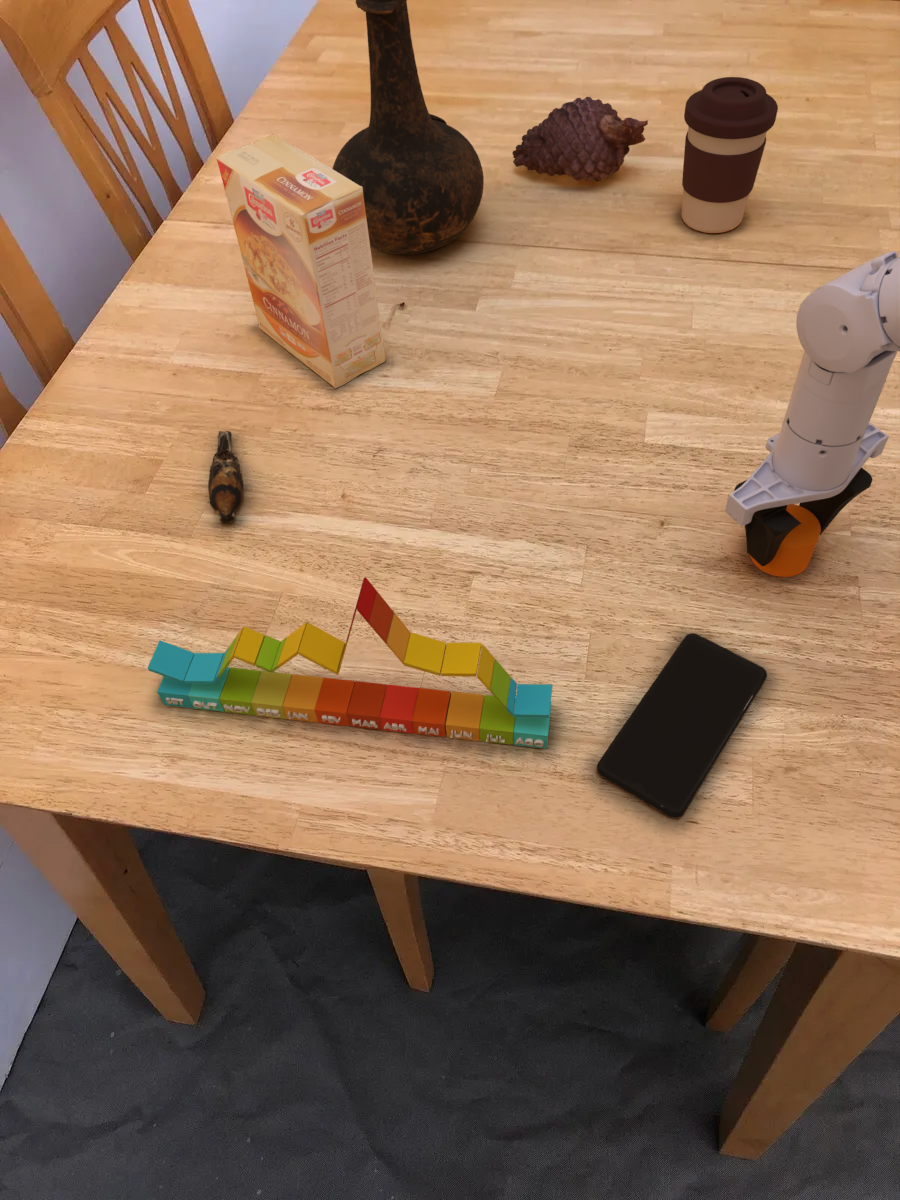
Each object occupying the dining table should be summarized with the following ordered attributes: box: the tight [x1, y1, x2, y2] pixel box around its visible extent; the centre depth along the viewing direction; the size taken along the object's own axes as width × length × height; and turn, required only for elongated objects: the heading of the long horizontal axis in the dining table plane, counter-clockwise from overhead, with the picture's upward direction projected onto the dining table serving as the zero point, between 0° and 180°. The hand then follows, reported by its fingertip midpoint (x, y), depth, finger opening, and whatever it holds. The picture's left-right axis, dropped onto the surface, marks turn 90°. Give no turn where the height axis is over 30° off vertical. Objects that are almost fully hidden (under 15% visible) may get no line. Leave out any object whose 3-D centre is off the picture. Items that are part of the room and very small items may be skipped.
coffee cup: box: [681, 76, 779, 234], centre depth 107 cm, size 10×10×15 cm
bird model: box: [207, 430, 244, 524], centre depth 87 cm, size 3×13×3 cm, turn 6°
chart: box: [147, 576, 554, 749], centre depth 66 cm, size 30×3×15 cm, turn 81°
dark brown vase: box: [332, 0, 485, 256], centre depth 103 cm, size 18×18×28 cm
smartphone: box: [596, 632, 768, 819], centre depth 69 cm, size 7×1×15 cm
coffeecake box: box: [215, 133, 386, 389], centre depth 93 cm, size 15×7×20 cm, turn 40°
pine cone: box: [511, 96, 649, 183], centre depth 118 cm, size 18×10×10 cm
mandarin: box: [749, 504, 821, 578], centre depth 78 cm, size 5×5×4 cm
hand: (783, 543), depth 78 cm, fingers closed on mandarin, 5 cm apart
